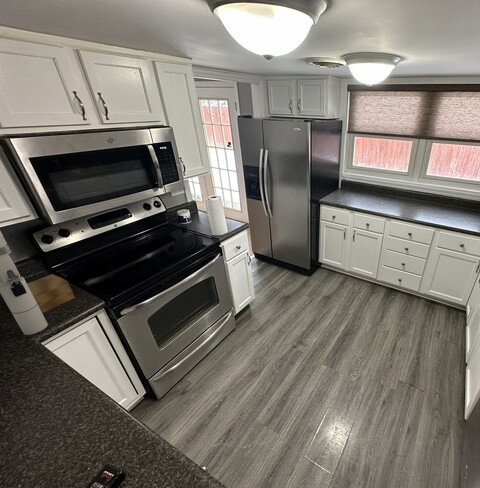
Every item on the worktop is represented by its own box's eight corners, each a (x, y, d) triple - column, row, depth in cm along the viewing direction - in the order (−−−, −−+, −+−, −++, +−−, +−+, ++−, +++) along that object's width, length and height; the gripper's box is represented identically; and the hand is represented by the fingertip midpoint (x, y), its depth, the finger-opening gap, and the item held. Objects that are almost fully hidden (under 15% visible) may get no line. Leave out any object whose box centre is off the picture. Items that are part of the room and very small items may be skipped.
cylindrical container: (28, 340, 106) (-2, 288, 96) (23, 333, 110) (-7, 282, 99) (51, 330, 112) (26, 280, 101) (46, 323, 115) (21, 274, 105)
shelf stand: (38, 314, 121) (29, 296, 116) (23, 305, 126) (13, 288, 121) (75, 297, 132) (67, 281, 128) (60, 290, 137) (52, 274, 133)
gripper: (-33, 250, 95) (-9, 291, 102) (-11, 261, 89) (13, 303, 96) (-3, 242, 101) (18, 281, 108) (20, 252, 95) (40, 293, 102)
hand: (15, 291), depth 102 cm, fingers closed on cylindrical container, 7 cm apart
